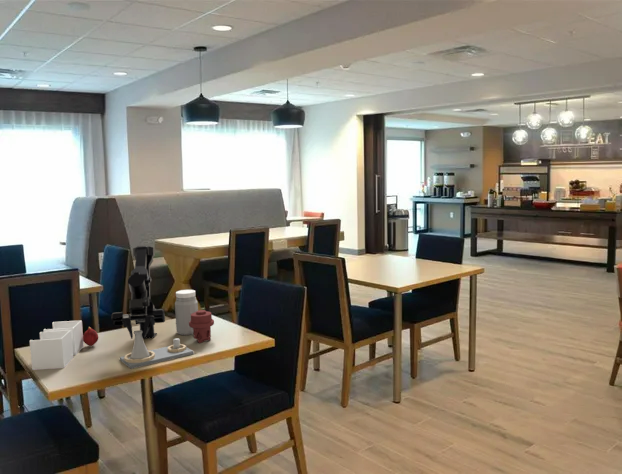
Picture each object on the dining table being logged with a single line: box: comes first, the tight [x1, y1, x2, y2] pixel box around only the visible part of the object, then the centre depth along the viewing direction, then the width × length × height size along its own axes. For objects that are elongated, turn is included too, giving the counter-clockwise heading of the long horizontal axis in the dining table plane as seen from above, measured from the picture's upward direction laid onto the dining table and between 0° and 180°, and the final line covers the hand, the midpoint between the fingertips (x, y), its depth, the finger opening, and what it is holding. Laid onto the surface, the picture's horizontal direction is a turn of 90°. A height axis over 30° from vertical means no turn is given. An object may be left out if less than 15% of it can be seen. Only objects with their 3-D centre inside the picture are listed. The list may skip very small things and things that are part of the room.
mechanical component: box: [189, 309, 215, 344], centre depth 230 cm, size 12×10×10 cm
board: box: [119, 338, 194, 370], centre depth 212 cm, size 24×12×5 cm, turn 127°
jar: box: [174, 289, 199, 336], centre depth 242 cm, size 10×10×18 cm
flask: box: [130, 329, 150, 359], centre depth 207 cm, size 7×7×10 cm
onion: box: [83, 326, 99, 347], centre depth 227 cm, size 6×6×8 cm
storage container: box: [29, 320, 85, 371], centre depth 214 cm, size 25×11×11 cm, turn 6°
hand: (138, 337), depth 206 cm, fingers open, 4 cm apart
